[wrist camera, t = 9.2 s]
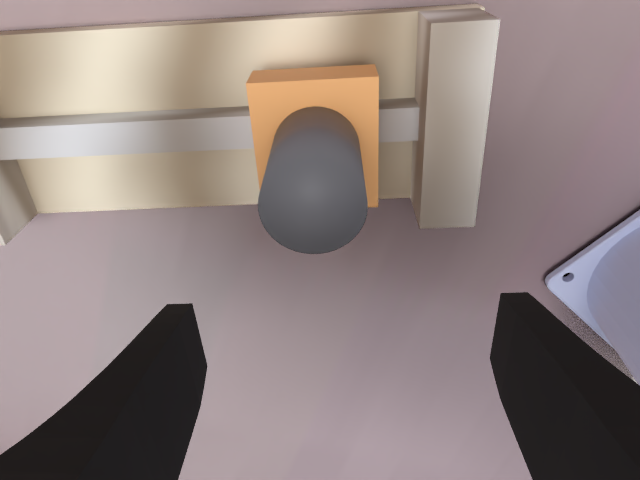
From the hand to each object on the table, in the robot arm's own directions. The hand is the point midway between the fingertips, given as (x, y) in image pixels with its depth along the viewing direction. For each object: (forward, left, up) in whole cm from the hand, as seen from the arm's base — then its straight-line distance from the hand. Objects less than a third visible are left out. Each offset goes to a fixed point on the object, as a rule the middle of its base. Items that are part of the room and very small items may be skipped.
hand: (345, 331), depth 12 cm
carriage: (-1, -2, -9) cm, 9 cm away
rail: (+2, -5, -10) cm, 12 cm away
